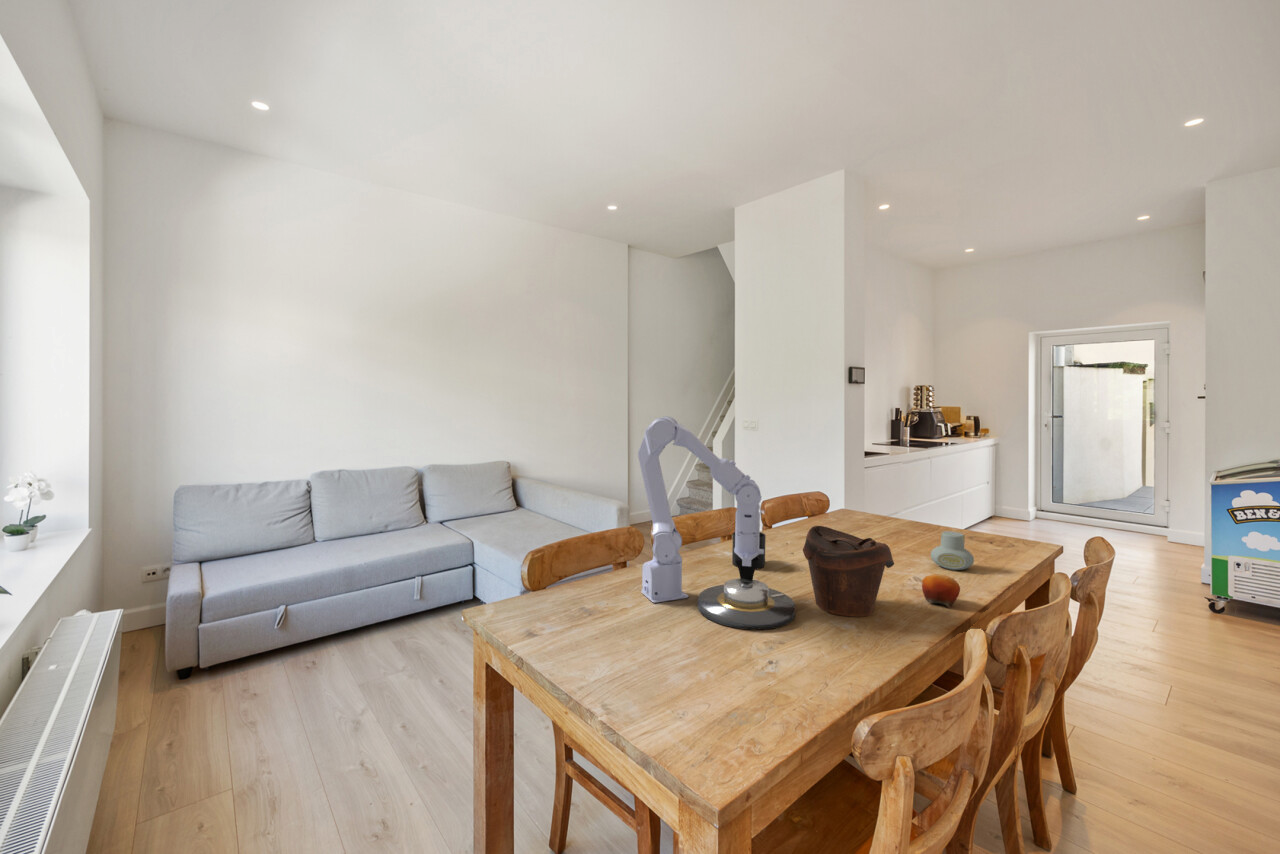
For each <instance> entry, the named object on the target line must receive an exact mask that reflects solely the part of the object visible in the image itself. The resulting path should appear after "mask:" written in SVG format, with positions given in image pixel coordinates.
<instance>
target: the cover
mask: <svg viewBox="0 0 1280 854" xmlns="http://www.w3.org/2000/svg"><path fill="white" fill-rule="evenodd" d="M723 585H724V601H725V603H727V604H728V605H730V606H732V607H735V608H740V609H760V608H764V607H766V606H767V605H768V588H769V586H768V584H766V583H764V582H763V581H759V580H757V579H753V580H752V579H740V578H734V579H729V580H727V581H725V582H724V584H723Z"/></svg>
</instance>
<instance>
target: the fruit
mask: <svg viewBox="0 0 1280 854" xmlns="http://www.w3.org/2000/svg"><path fill="white" fill-rule="evenodd" d="M921 582H922V583H921V590H922V593H923V596H924V598H925V601H928V602H929V603H930V605H932V604H942V605H944V606H946V607H947V608H948V609H950V607H949V606H950V605H952V604H954V603H955V601H957V599H958V597H959V595H960V591H961V586H960V585H959V582H957V580H955V579H954V578H953V577H951V576H949V575H946V574H945V575H944V574H941V573H933V574H930V575H925V577H923V579H922V580H921Z"/></svg>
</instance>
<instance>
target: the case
mask: <svg viewBox="0 0 1280 854" xmlns="http://www.w3.org/2000/svg"><path fill="white" fill-rule="evenodd" d="M802 552H803V556H804V557H805V560H807V562H808V568H809V569H808V570H809V573H810V577H811V578H810V579H811V585H812V589H813V595H814V601H815V604H816V606H818V607H819V608H820V609H821V610H823V611H825V612H827V613H829V614H832V615H837V616H842V617H851V618H852V617H853V618H855V617H856V618H857V617H858V618H861V617H862V618H863V617H867V616H870V615H872V614H873V613H874V611H875V605H876V602H877V597H878V595H879V594H878V593H879V591H880V587H881V583H882V578H883V575H884V571H885V567H886V568H888V569H889V568H892V567H893V566H894V565H895V562H894V558H893V556H892V551H891V548H890V547H889V545H888V544H886V543H884V542H883V543H882V542H879V541H876V540H874V539H873V538H872V537H867V538H864V539H863V538H861V537H858V536H855V535H853V534H849V533H846V532H843V531H840V530H837V529H834V528H831V527H827V526H823V525H814V526H812V527H811V528H809V530H808V531H807V534H806V538H805V542H804V546H803V548H802Z"/></svg>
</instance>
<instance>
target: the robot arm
mask: <svg viewBox="0 0 1280 854" xmlns="http://www.w3.org/2000/svg"><path fill="white" fill-rule="evenodd" d="M672 441H673V443H672V446H676V447H682V448H686V449H687V450H688V451H689V452H690V453H691V454H693V455H694V457H695V456H696V458H698V460H700V461H701V462H703V464H704V465H706V466H707V467H709V470H710V477H711V478H713V479H714V481H716V482H717V483H718V484H719V485H720V486H721V487H723V489H724V490H726V491H727V492H728V493H729V494H730V495H734V496H735V500H736V510H735V523H734V524H735V528H734V529H735V530H734V532H735V548H734V552H735V553H736V554H737V556H735V562H736V565H737V566H736V567H737V570H738V573H739V579H752V580H754V575H755V572H756V570H757V569H756V567H757V565H758V563H759V556H757V555H759V554H764V549H759V533H760V525H761V524H760V523H761V514H760V507H761V505H760V503H761V501H762V495H761V490H760V487H759V485H758V484H757V483H756V481H755V480H754V479H751V476H750V475H749V474H747V475H746V474H745V473H743V472H742V470H740V469H739V468H738V467H737V466H736V462H735V460H733V459H731V460H729V459H728V458H726V457H725V458H720V457H718V456H717V455H716V454H715V453H714V452H713V451H712V450H711V449H710V448H708V447H707V446H706V444H704V442H703V441H701V440H700V438H699V437H697V435H695V434H694V433H693V432H692V431H691V430H689V429H688V428H687V427H686V426H685V425H683V424H682V423H678V422H677V420H676V419H675V418H674V417H672V416H662V417H658V418H656V419H654V420H653V421H652V422H651V423H650V424H649V426H647V428H646V429H645V430H644V434H643V437H642V441H641V443H640V446H639V448H638V452H637V456H638V462H639V466H640V467H639V468H640V471H641V475H642V479H643V484H644V485H643V486H644V489H645V493H646V498H647V503H648V507H649V512H650V516H651V520H652V521H651V522H652V536H653V543H652V544H653V545H652V549H651V550H652V553H653V556H652V559H651V560H648V561H645V562H644V563H643V565H642V573H641V574H642V577H641V581H642V582H641V583H642V584H641V585H642V586H641V587H642V588H641V590H640V592H641V593H642V594H643V595H644V596H645V598H647V599H649V600H650V601H651V602H652V603H653V604H654V603H663V602H668V601H675V600H683V599H687V598H689V595H688V594H687V593H686V592H684V591H683V589H682V588H683V587H682V586H683V557H682V555H680V552H679V551H680V549H681V548H682V544H683V538H682V535H681V534H680V532H679V531H678V530H677V528H676V525H675V521H674V519H673V516H672V511H671V508H670V504H669V499H668V493H667V489H666V486H665V480H664V475H663V472H662V471H663V470H662V467H661V462H660V459H659V457H660V455H661V454H662V452H663V450H665V448H666V447H667V446H668V444H670V443H671V442H672Z"/></svg>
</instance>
